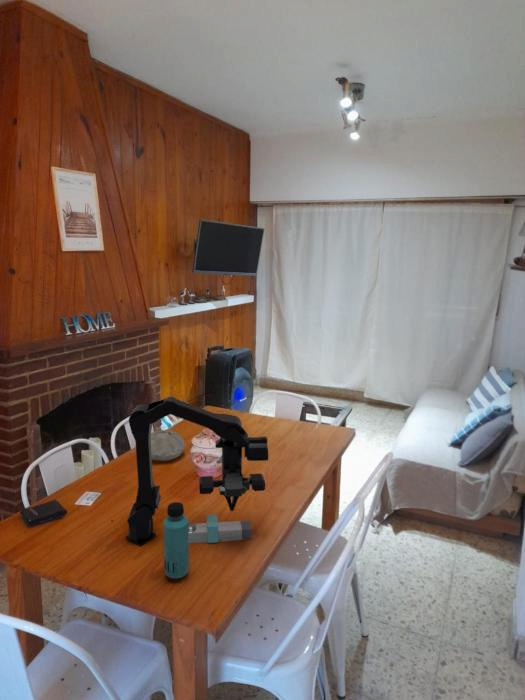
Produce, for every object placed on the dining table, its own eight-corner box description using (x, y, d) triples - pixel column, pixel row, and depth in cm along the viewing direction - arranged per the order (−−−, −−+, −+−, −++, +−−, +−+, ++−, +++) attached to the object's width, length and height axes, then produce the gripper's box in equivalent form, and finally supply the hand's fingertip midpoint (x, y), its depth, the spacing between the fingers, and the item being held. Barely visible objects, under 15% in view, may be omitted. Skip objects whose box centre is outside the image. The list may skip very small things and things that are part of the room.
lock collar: (207, 543, 135) (207, 526, 134) (207, 530, 141) (207, 515, 140) (218, 542, 136) (218, 526, 135) (217, 530, 142) (217, 514, 141)
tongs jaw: (189, 537, 138) (189, 528, 138) (189, 533, 141) (189, 524, 140) (250, 534, 141) (251, 524, 140) (249, 529, 143) (250, 520, 142)
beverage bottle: (191, 567, 125) (190, 498, 121) (187, 584, 119) (187, 511, 115) (166, 567, 125) (164, 498, 121) (161, 584, 118) (160, 511, 114)
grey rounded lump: (173, 469, 182) (172, 444, 180) (131, 463, 187) (131, 439, 185) (191, 451, 199) (191, 428, 197) (153, 446, 204) (152, 423, 202)
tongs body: (182, 544, 135) (182, 531, 134) (182, 535, 139) (182, 523, 139) (251, 539, 138) (252, 527, 137) (250, 531, 142) (250, 519, 141)
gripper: (199, 475, 126) (200, 528, 129) (268, 471, 129) (267, 523, 132) (198, 457, 137) (199, 506, 140) (262, 454, 139) (261, 503, 143)
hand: (231, 510), depth 138 cm, fingers closed
